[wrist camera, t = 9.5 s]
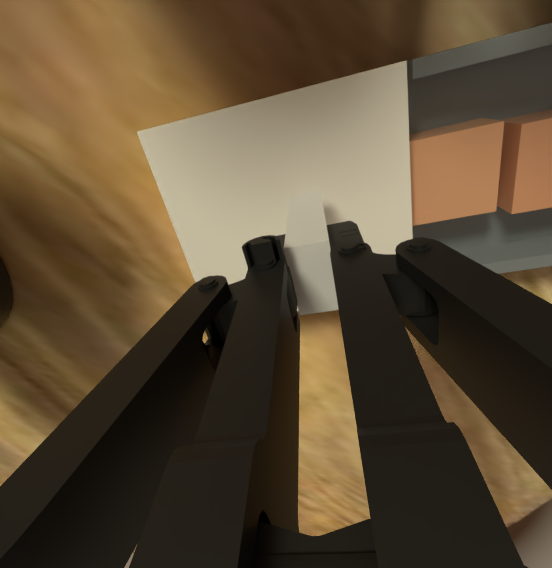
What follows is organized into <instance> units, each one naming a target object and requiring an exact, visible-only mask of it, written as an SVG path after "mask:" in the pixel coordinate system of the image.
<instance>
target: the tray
mask: <svg viewBox="0 0 552 568" xmlns="http://www.w3.org/2000/svg"><path fill="white" fill-rule="evenodd" d="M407 86H408V115H409V134H411V133H416V132H420V131H424V130H429V129H433V128H438V127H442V126H447V125H451V124H456V123H460V122H464V121H469V120H473V119H478V118H486V119H494V120H502V119H507V118H512V117H516V116H521V115H525V114H530V113H534V112H539V111H543V110H548V109H552V23H548V24H544V25H540V26H537V27H533V28H529V29H525V30H521V31H518V32H514V33H510V34H506V35H503V36H499V37H495V38H491V39H487V40H484V41H480V42H476V43H472V44H468V45H465V46H461V47H457V48H453V49H450V50H446V51H442V52H438V53H434V54H431V55H427V56H423V57H419V58H415V59H412V60H409V61H407ZM412 233H413V238H418V237H419V238H420V237H425V238H429V239H434V240H437V241H440V242H441V243H443V244H445V245H447V246H449V247H450V248H452V249H454V250H456V251H458V252H459V253H461V254H463V255H465V256H467V257H468V258H470V259H472V260H474V261H475V262H477V263H479V264H481V265H483V266H484V267H486V268H488V269H490V270H492V271H493V272H495V273H497V274H500V273H507V272H514V271H521V270H528V269H534V268H541V267H548V266H552V207H551V208H545V209H539V210H534V211H528V212H522V213H516V214H510V213H508V212H507V211H505V210H503V209H502V208H500V207H498V206H497V208H496V211H495V212H489V213H483V214H478V215H472V216H466V217H461V218H455V219H449V220H444V221H438V222H432V223H427V224H421V225H415V226H412Z"/></svg>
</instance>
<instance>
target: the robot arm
mask: <svg viewBox="0 0 552 568" xmlns="http://www.w3.org/2000/svg"><path fill="white" fill-rule="evenodd" d="M242 250H243V253H244V257H245V260H246V263H247V267H248V270H247V273H246V277H245V279H243V280H241V281H238V282H235V283H232V284H229V285H228V282H227V279H226V277H224V276H219V275H216V276H207V278H206V277H204V278H202V279H201V280H200V281H198V282H196V283H195V284H193V285H192V286H191V287H190V288H189V289H188V290H187V291H186V292H185V293H184V295H183V296H182V297H181V298H180V299H179V300H178V301H177V302H176V303H175V304H174V305H173V306H172V307H171V308H170V309H169V310H168V311H167V312H166V313H165V314H164V315H163V317H162V318H161V319H160V320H159V321H158V322H157V323H156V324H155V325H154V326H153V327H152V328H151V329H150V330H149V331H148V332H147V333H146V334H145V335H144V336H143V337H142V339H141V340H140V341H139V342H138V343H137V344H136V345H135V346H134V347H133V348H132V349H131V350H130V351H129V352H128V353H127V354H126V355H125V356H124V357H123V358H122V360H121V361H120V362H119V363H118V364H117V365H116V366H115V367H114V368H113V369H112V370H111V371H110V372H109V373H108V374H107V375H106V376H105V377H104V378H103V379H102V380H101V382H100V383H99V384H98V385H97V386H96V387H95V388H94V389H93V390H92V391H91V392H90V393H89V394H88V395H87V396H86V397H85V398H84V399H83V400H82V401H81V403H80V404H79V405H78V406H77V407H76V408H75V409H74V410H73V411H72V412H71V413H70V414H69V415H68V416H67V417H66V418H65V419H64V420H63V421H62V422H61V423H60V425H59V426H58V427H57V428H56V429H55V430H54V431H53V432H52V433H51V434H50V435H49V436H48V437H47V438H46V439H45V440H44V441H43V442H42V443H41V444H40V445H39V447H38V448H37V449H36V450H35V451H34V452H33V453H32V454H31V455H30V456H29V457H28V458H27V459H26V460H25V461H24V462H23V463H22V464H21V465H20V466H19V468H18V469H17V470H16V471H15V472H14V473H13V474H12V475H11V476H10V477H9V478H8V479H7V480H6V481H5V482H4V483H3V484H2V485H1V486H0V568H124V567H125V565H126V563H127V561H128V560H129V558H130V556H131V554H132V552H133V551H134V549H135V547H136V545H137V547H136V550H135V553H134V556H133V558H132V561H131V564H130V566H129V568H528V567H526V566H524V565H523V563H522V560H521V558H520V556H519V554H518V552H517V550H516V548H515V546H514V543H513V541H512V539H511V537H510V535H509V532H508V530H507V528H506V526H505V524H504V522H503V519H502V517H501V515H500V513H499V511H498V509H497V506H496V504H495V502H494V500H493V498H492V496H491V494H490V491H489V489H488V487H487V485H486V483H485V481H484V478H483V476H482V474H481V472H480V470H479V468H478V465H477V463H476V461H475V459H474V457H473V455H472V453H471V450H470V448H469V446H468V444H467V442H466V440H465V438H464V436H463V434H462V432H461V431H460V429H459V427H458V426H457V425H456V424H455V423H454V422H451V423H447V422H446V421H445V419H444V417H443V415H442V413H441V411H440V408H439V406H438V404H437V401H436V399H435V397H434V394H433V392H432V390H431V387H430V385H429V383H428V380H427V378H426V376H425V373H424V371H423V369H422V366H421V364H420V362H419V359H418V357H417V355H416V352H415V350H414V348H413V345H412V343H411V341H410V338H409V336H408V334H407V331H406V329H405V327H406V328H407V329H408V330H409V331H410V333H411V334H412V335H413V336H414V337H415V338H416V339H417V340H418V341H419V343H420V344H421V345H422V346H423V347H424V348H425V349H426V350H427V351H428V353H429V354H430V355H431V356H432V357H433V358H434V359H435V360H436V361H437V363H438V364H439V365H440V366H441V367H442V368H443V369H444V370H445V371H446V373H447V374H448V375H449V376H450V377H451V378H452V379H453V380H454V381H455V383H456V384H457V385H458V386H459V387H460V388H461V389H462V390H463V391H464V393H465V394H466V395H467V396H468V397H469V398H470V399H471V400H472V401H473V403H474V404H475V405H476V406H477V407H478V408H479V409H480V410H481V411H482V413H483V414H484V415H485V416H486V417H487V418H488V419H489V420H490V422H491V423H492V424H493V425H494V426H495V427H496V428H497V429H498V430H499V432H500V433H501V434H502V435H503V436H504V437H505V438H506V439H507V440H508V442H509V443H510V444H511V445H512V446H513V447H514V448H515V449H516V450H517V452H518V453H519V454H520V455H521V456H522V457H523V458H524V459H525V460H526V462H527V463H528V464H529V465H530V466H531V467H532V468H533V469H534V470H535V472H536V473H537V474H538V475H539V476H540V477H541V478H542V479H543V480H544V482H545V483H546V484H547V485H548V486H549V487H550V488H551V489H552V304H551V303H549V302H547V301H545V300H543V299H542V298H540V297H538V296H536V295H534V294H533V293H531V292H529V291H527V290H526V289H524V288H522V287H520V286H518V285H517V284H515V283H513V282H511V281H509V280H508V279H506V278H504V277H502V276H500V275H499V274H497V273H495V272H493V271H492V270H490V269H488V268H486V267H484V266H483V265H481V264H479V263H477V262H475V261H474V260H472V259H470V258H468V257H467V256H465V255H463V254H461V253H459V252H458V251H456V250H454V249H452V248H450V247H449V246H447V245H445V244H443V243H441V242H440V241H437V240H434V239H429V238H425V237H420V238H419V237H418V238H413V239H410V240H406V241H404V242H401V243H400V244H398V245H397V246H396V249H395V251H396V254H377V253H373V252H372V249H371V247H370V246H369V245H368V244H367V243H364V241H363V238H362V236H361V234H360V231H359V228H358V226H357V224H356V223H354V222H352V221H345V222H340V223H335V224H330V225H326V220H325V214H324V208H323V202H322V197H321V191H320V189H319V190H315V191H310V192H305V193H301V194H296V195H291V196H290V203H289V211H288V219H287V227H286V234H283V235H278V236H274V235H267V236H261V237H257V238H254V239H252V240H249V241H248V242H246V243H245V244H244V245H243V246H242ZM11 306H12V292H11V286H10V282H9V279H8V276H7V273H6V271H5V268H4V266H3V264H2V262H1V260H0V327H2V325H3V324H4V323H5V322H6V320H7V318H8V316H9V314H10V311H11ZM297 306H298V310H299V315H307V314H314V313H320V312H327V311H334V310H339V315H340V322H341V328H342V335H343V341H344V347H345V354H346V360H347V367H348V373H349V379H350V386H351V392H352V399H353V405H354V411H355V418H356V424H357V433H358V440H359V446H360V453H361V459H362V466H363V472H364V479H365V485H366V491H367V498H368V504H369V511H370V517H371V519H368V520H365V521H362V522H359V523H356V524H353V525H350V526H347V527H345V528H342V529H339V530H336V531H333V532H330V533H327V534H324V535H321V536H309V535H305V534H302V533H299V527H298V448H299V361H300V321H299V317H298V313H297ZM404 326H405V327H404ZM204 331H205V332H206V334H207V336H208V340H207V342H206V343H205V344H204V343H203V341H202V339H203V333H204ZM138 541H139V542H138ZM137 543H138V544H137Z"/></svg>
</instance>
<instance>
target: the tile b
mask: <svg viewBox="0 0 552 568" xmlns="http://www.w3.org/2000/svg"><path fill="white" fill-rule="evenodd" d="M501 121H504V130H503V142H502V153H501V164H500V175H499V186H498V197H497V206H498V207H500V208H502V209H503V210H505V211H507V212H508V213H510V214H516V213H522V212H528V211H534V210H539V209H545V208H551V207H552V109H548V110H543V111H539V112H534V113H530V114H525V115H521V116H516V117H512V118H507V119H502V120H501Z"/></svg>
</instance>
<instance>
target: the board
mask: <svg viewBox="0 0 552 568" xmlns="http://www.w3.org/2000/svg"><path fill="white" fill-rule="evenodd" d="M137 134H138V137H139V139H140V142H141V144H142V147H143V149H144V152H145V155H146V157H147V160H148V162H149V165H150V167H151V170H152V172H153V175H154V178H155V180H156V183H157V185H158V188H159V190H160V193H161V196H162V198H163V201H164V203H165V206H166V208H167V211H168V213H169V216H170V219H171V221H172V224H173V226H174V229H175V231H176V234H177V237H178V239H179V242H180V244H181V247H182V249H183V252H184V254H185V257H186V260H187V262H188V265H189V267H190V270H191V272H192V275H193V278H194V280H195V283H196V282H198V281H200V280H201V279H202V278H204V277H206V278H207V276H216V275H219V276H224V277H226V279H227V282H228V285H229V284H232V283H235V282H238V281H241V280H243V279H245V277H246V273H247V270H248V267H247V263H246V260H245V257H244V253H243V250H242V246H243V245H244V244H245V243H246V242H248V241H249V240H252V239H254V238H257V237H261V236H267V235H274V236H278V235H283V234H286V227H287V219H288V211H289V203H290V196H291V195H296V194H301V193H305V192H310V191H315V190H319V189H320V191H321V197H322V202H323V208H324V214H325V220H326V225H330V224H335V223H340V222H345V221H352V222H354V223H356V224H357V226H358V228H359V231H360V234H361V236H362V238H363V241H364V243H367V244H368V245H369V246H370V247H371V249H372V252H373V253H377V254H396V251H395V249H396V246H397V245H398V244H400V243H401V242H404V241H406V240H410V239H413V233H412V204H411V174H410V145H409V115H408V86H407V60H406V61H402V62H398V63H395V64H391V65H387V66H383V67H380V68H376V69H372V70H368V71H364V72H361V73H357V74H353V75H349V76H346V77H342V78H338V79H334V80H330V81H327V82H323V83H319V84H315V85H311V86H308V87H304V88H300V89H296V90H293V91H289V92H285V93H281V94H277V95H274V96H270V97H266V98H262V99H259V100H255V101H251V102H247V103H243V104H240V105H236V106H232V107H228V108H224V109H221V110H217V111H213V112H209V113H206V114H202V115H198V116H194V117H190V118H187V119H183V120H179V121H175V122H172V123H168V124H164V125H160V126H156V127H153V128H149V129H145V130H141V131H137ZM297 311H299V310H298V306H297Z"/></svg>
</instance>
